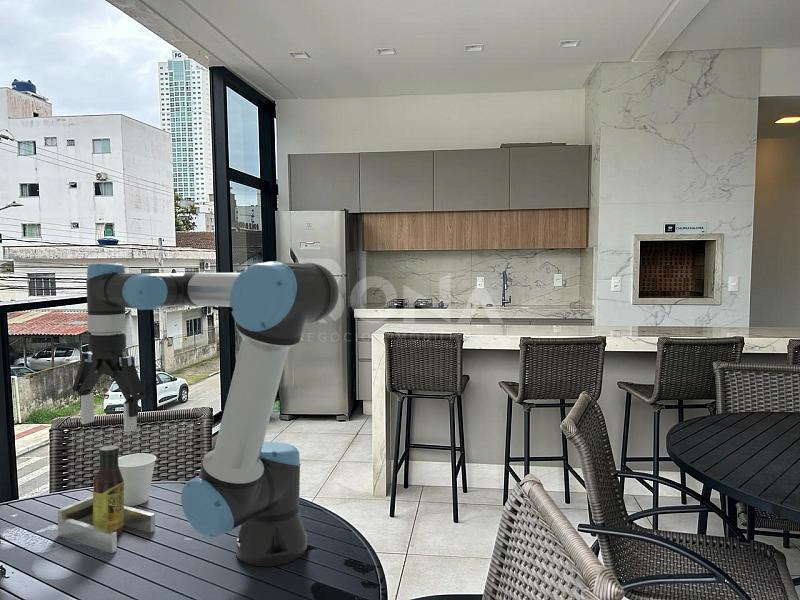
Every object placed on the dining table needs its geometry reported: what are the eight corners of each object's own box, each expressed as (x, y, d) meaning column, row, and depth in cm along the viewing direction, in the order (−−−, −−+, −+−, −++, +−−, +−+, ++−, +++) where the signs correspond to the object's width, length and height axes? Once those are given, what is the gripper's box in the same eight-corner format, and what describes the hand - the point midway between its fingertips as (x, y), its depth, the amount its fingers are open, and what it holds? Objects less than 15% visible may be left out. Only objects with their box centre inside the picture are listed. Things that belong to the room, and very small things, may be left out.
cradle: (155, 530, 131) (154, 505, 131) (112, 553, 121) (111, 526, 121) (103, 515, 138) (102, 491, 138) (58, 535, 128) (57, 509, 128)
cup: (150, 490, 154) (149, 450, 153) (161, 503, 146) (161, 461, 145) (109, 499, 147) (109, 458, 147) (119, 513, 140) (119, 469, 139)
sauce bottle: (111, 541, 126) (110, 453, 124) (86, 539, 127) (85, 451, 125) (130, 528, 132) (129, 444, 131) (106, 525, 133) (105, 442, 132)
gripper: (162, 334, 125) (163, 429, 126) (84, 327, 135) (85, 415, 136) (133, 338, 118) (134, 439, 119) (53, 330, 128) (55, 423, 129)
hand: (108, 426), depth 128 cm, fingers open, 13 cm apart
